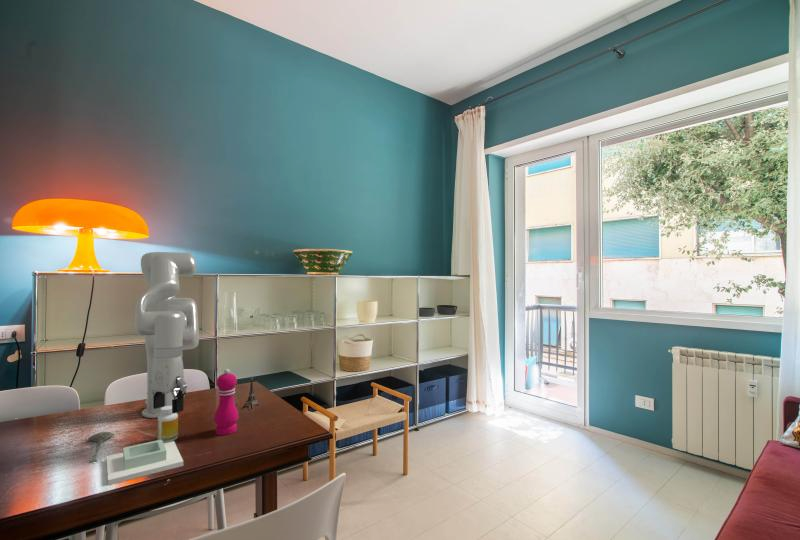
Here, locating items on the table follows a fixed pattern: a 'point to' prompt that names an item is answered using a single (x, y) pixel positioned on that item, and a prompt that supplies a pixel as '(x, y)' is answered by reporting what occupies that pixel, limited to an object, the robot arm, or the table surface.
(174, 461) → the cup holder
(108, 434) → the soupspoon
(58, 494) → the table surface
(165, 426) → the supplement bottle
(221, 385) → the pepper mill
